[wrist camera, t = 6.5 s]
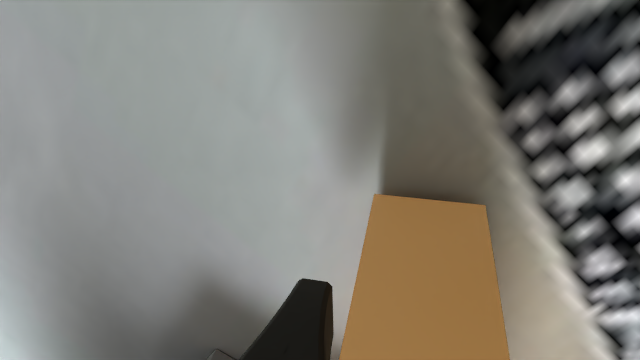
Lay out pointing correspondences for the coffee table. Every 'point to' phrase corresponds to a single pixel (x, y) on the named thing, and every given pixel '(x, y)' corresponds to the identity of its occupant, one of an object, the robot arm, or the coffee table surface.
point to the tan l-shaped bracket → (425, 285)
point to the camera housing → (219, 356)
